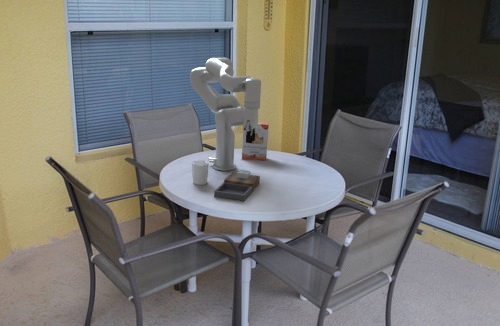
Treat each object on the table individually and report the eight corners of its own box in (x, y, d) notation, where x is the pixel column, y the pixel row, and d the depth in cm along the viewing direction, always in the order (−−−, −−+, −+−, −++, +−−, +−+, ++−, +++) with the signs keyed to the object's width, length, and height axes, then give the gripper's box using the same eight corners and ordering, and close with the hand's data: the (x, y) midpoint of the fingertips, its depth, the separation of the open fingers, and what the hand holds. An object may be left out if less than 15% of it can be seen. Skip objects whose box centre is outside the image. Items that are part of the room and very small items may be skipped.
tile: (237, 177, 235) (237, 172, 234) (240, 174, 239) (240, 169, 239) (247, 178, 234) (247, 174, 233) (250, 175, 238) (250, 171, 237)
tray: (214, 197, 220) (214, 190, 219) (223, 188, 231) (223, 182, 231) (244, 201, 216) (244, 195, 215) (252, 192, 228) (252, 186, 227)
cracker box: (241, 159, 276) (243, 123, 270) (241, 156, 282) (243, 121, 275) (266, 160, 276) (268, 124, 270) (266, 157, 282) (268, 122, 276)
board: (224, 187, 232) (224, 179, 231) (232, 179, 243) (232, 172, 242) (252, 191, 228) (252, 183, 227) (259, 183, 240) (259, 176, 238)
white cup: (195, 186, 232) (195, 166, 229) (189, 181, 239) (189, 161, 236) (210, 184, 236) (211, 164, 233) (204, 179, 242) (204, 159, 239)
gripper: (249, 101, 243) (247, 137, 249) (239, 107, 228) (237, 145, 234) (264, 102, 241) (262, 138, 247) (254, 108, 226) (252, 147, 232)
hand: (250, 141), depth 240 cm, fingers open, 3 cm apart
